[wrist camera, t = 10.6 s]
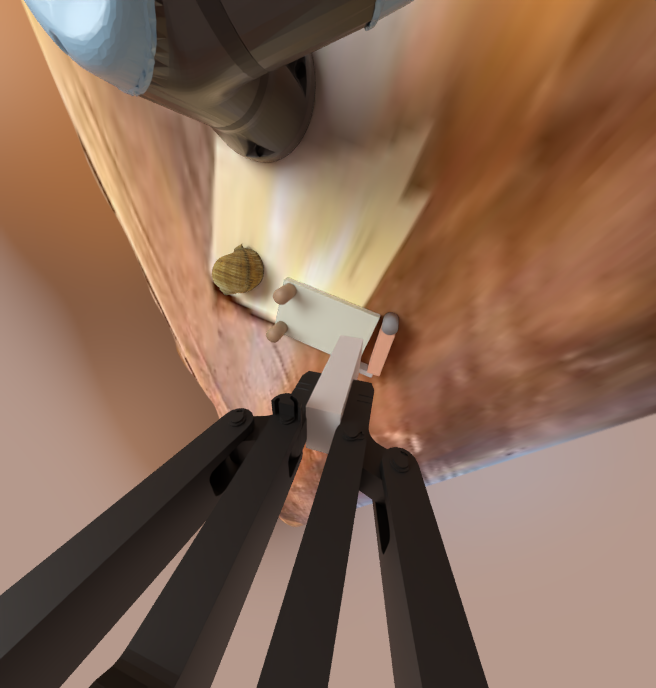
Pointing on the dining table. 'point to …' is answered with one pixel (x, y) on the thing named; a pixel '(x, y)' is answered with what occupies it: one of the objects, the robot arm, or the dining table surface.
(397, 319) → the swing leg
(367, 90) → the dining table surface
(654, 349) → the dining table surface
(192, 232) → the dining table surface
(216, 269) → the seashell
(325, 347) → the pale board with pegs
